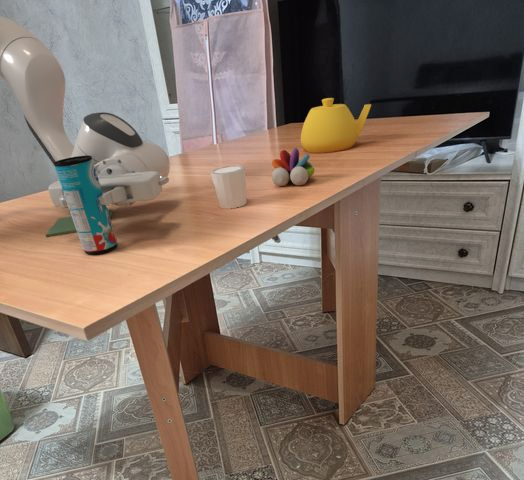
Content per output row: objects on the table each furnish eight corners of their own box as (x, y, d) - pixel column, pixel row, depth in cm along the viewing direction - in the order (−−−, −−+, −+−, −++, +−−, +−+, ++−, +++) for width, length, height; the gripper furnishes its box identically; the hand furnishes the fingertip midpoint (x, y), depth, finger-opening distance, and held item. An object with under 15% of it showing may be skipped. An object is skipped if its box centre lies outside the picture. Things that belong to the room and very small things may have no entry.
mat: (46, 237, 93) (45, 234, 93) (59, 220, 103) (58, 218, 103) (106, 227, 94) (105, 224, 94) (113, 211, 104) (112, 209, 104)
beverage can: (117, 251, 80) (89, 159, 72) (82, 258, 79) (50, 165, 71) (119, 241, 85) (93, 153, 77) (86, 247, 84) (56, 159, 76)
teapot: (298, 156, 131) (294, 105, 124) (305, 143, 146) (302, 98, 139) (371, 149, 126) (371, 96, 120) (370, 137, 142) (370, 89, 135)
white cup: (240, 197, 100) (235, 163, 96) (255, 203, 95) (250, 167, 91) (211, 205, 98) (205, 170, 94) (224, 212, 92) (218, 175, 89)
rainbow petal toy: (279, 178, 111) (276, 146, 107) (319, 177, 107) (317, 143, 103) (267, 188, 104) (263, 154, 100) (309, 186, 101) (307, 151, 97)
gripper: (176, 194, 87) (144, 218, 76) (81, 200, 92) (38, 223, 81) (168, 158, 84) (134, 178, 72) (70, 167, 89) (24, 186, 78)
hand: (82, 202), depth 77 cm, fingers closed on beverage can, 6 cm apart
